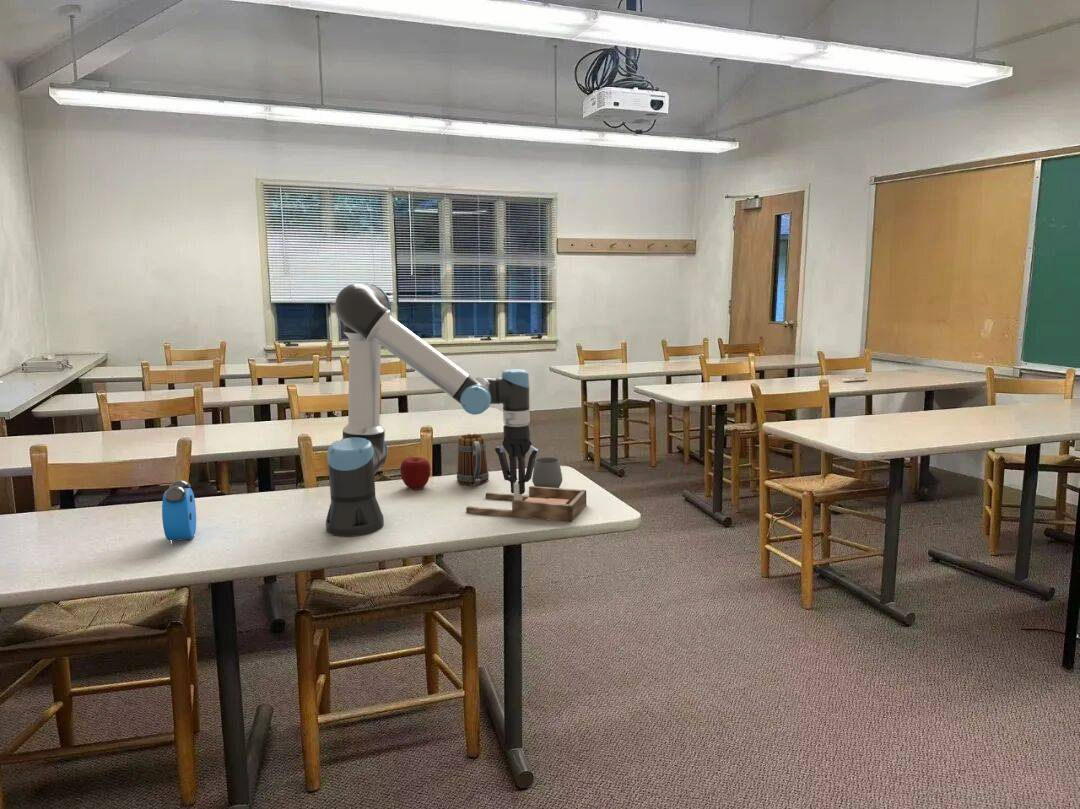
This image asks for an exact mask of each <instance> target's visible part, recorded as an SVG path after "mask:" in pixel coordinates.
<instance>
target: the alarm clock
mask: <svg viewBox="0 0 1080 809" xmlns="http://www.w3.org/2000/svg"><path fill="white" fill-rule="evenodd" d="M161 505H162V506H161V516H162V518H161V519H162V520H161V521H162V527H163V532H164V536H165V538H166V540H167V541H168V540H169V541H168V542H171V541H170V540H175V541H181V540H180V539H184V540H190V539H189V538H192V539H194V538H195V536H194V534H195V535H196V533H195V532H197V507H196V499H195V495H194V492H193V490H192V488H191V484H190V482H188V481H186V480H184V479H178V480H175V481H173V482H172V483H171V484H170V485H169V488H168V489H167V490H165V492H164V493H163V497H162V503H161ZM193 537H194V538H193Z"/></svg>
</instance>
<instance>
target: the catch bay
mask: <svg viewBox="0 0 1080 809" xmlns="http://www.w3.org/2000/svg"><path fill="white" fill-rule="evenodd" d="M528 497H532V498H544V499H549V498H554V499H566V500H569V504H557V503H545V502H533V501H525V500H526V499H527V498H528ZM485 499H494V500H505V501H511V509H507V508H506V509H505V508H494V507H481V506H479V507H478V506H471V505H470V506H469V505H467V506H466V507H465V512H466V513H467V514H479V515H488V516H489V515H490V516H501V517H502V516H503V517H512V518H521V519H535V520H543V521H544V520H546V521H554V522H566V523H567V522H568V523H573V522H574V520H575V519H576V518H577V517H578V516H579V515H580V513H581V512H582V511H583V510H584V508H585V507H586V506H587V490H586V489H577V488H576V489H575V488H563V487H562V488H561V487H559V488H551V487H538V486H533V485H529V487H528V495H526V494H522V501H521V500H514V493H504V492H503V493H501V492H489V491H488V492H485Z"/></svg>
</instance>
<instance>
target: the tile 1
mask: <svg viewBox="0 0 1080 809" xmlns="http://www.w3.org/2000/svg"><path fill="white" fill-rule="evenodd" d="M547 500H548V499H544V498H532V497H528V498H527V499H526V500H525V501H533V502H546V501H547Z"/></svg>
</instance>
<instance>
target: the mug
mask: <svg viewBox="0 0 1080 809" xmlns="http://www.w3.org/2000/svg"><path fill="white" fill-rule="evenodd" d="M486 449H487V446H486V442H485V437H484V435H482V434H480V433H479V434H477V433H473V434H471V433H469V434H462V435H459V436H458V443H457V451H458V452H457V472H456V480H457V482H458V483H459V484H461V485H464V484H465V486H466V485H467V486H475V485H477V486H478V485H482V484H486V483H487V482H488V481H489V477H490V473H489V468H488V462H487V461H488V460H487V452H486Z"/></svg>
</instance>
